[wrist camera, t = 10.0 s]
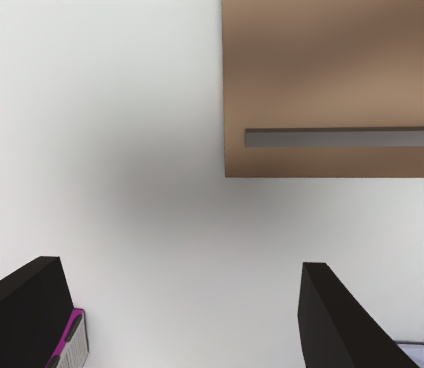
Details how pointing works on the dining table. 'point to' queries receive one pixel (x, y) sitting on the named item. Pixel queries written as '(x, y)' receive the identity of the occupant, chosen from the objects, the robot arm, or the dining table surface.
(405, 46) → the base
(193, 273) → the dining table surface
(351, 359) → the robot arm
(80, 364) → the candy bar box
